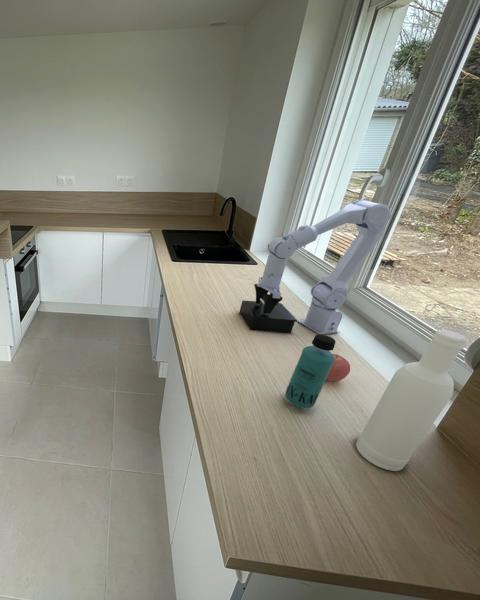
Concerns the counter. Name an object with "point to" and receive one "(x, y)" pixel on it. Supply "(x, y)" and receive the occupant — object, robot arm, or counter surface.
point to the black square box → (265, 323)
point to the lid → (276, 314)
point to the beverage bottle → (311, 372)
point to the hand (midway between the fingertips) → (262, 308)
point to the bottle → (411, 404)
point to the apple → (338, 369)
